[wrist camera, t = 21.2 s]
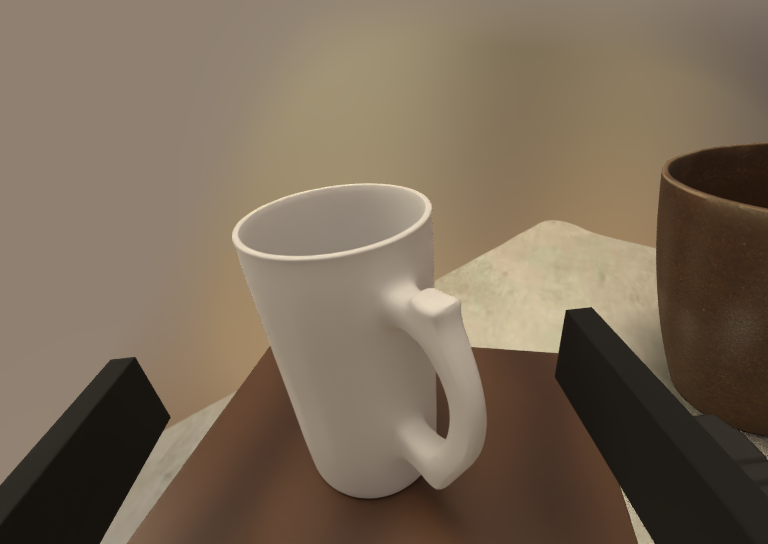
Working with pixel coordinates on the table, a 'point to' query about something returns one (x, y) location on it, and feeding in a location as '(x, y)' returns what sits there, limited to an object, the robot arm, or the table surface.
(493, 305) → the table surface
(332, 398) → the mug
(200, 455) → the walnut shelf
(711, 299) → the flower pot
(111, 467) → the robot arm
